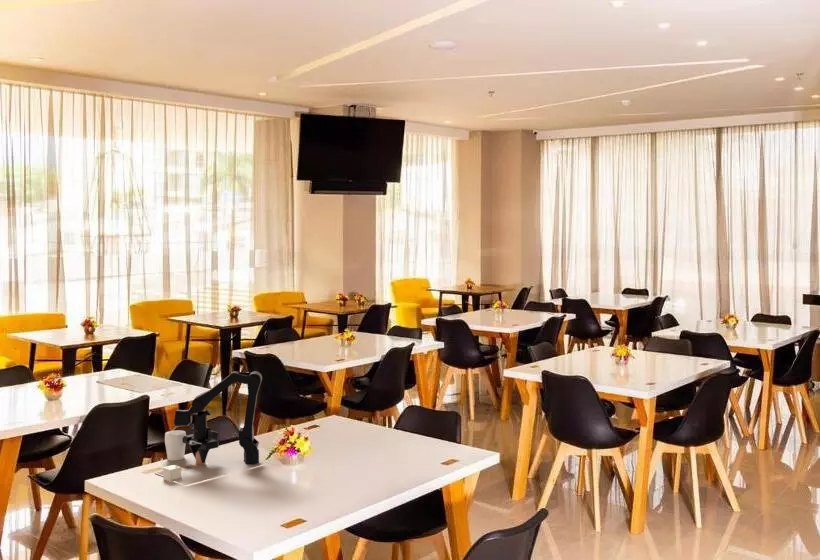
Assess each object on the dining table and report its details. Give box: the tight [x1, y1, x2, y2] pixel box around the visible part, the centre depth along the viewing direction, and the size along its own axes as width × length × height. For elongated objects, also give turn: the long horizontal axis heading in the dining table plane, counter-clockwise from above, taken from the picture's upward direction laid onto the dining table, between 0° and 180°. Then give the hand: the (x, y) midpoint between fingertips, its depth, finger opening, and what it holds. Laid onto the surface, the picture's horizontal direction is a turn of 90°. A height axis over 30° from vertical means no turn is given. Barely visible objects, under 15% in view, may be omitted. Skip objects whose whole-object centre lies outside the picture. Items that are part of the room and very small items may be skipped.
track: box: [154, 461, 210, 478], centre depth 339 cm, size 23×6×1 cm, turn 138°
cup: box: [164, 429, 187, 462], centre depth 353 cm, size 9×9×12 cm
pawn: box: [195, 450, 207, 466], centre depth 345 cm, size 4×4×6 cm
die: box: [162, 464, 182, 483], centre depth 326 cm, size 5×5×5 cm
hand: (200, 461), depth 345 cm, fingers closed on pawn, 4 cm apart
